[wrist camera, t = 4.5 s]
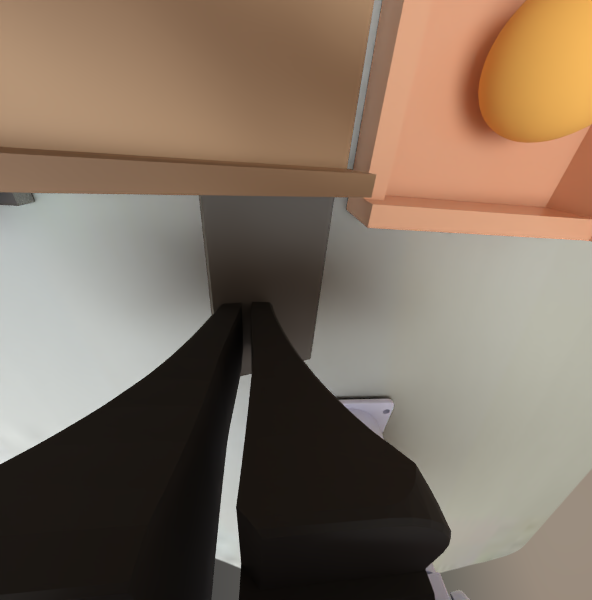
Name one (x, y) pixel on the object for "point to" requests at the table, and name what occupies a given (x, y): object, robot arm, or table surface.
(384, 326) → the table surface
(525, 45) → the ball
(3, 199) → the pivot stand
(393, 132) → the tray
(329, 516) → the robot arm
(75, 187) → the tipping chute
